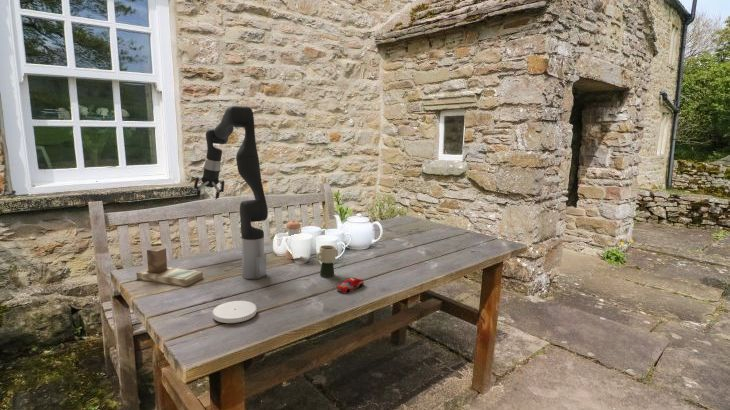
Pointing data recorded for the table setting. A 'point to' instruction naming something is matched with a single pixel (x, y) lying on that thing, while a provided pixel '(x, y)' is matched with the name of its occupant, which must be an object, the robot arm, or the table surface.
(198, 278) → the puzzle board
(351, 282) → the race car
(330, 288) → the table surface
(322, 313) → the table surface
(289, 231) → the pepper shaker
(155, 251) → the walnut block
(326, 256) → the character mug
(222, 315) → the plastic lid
